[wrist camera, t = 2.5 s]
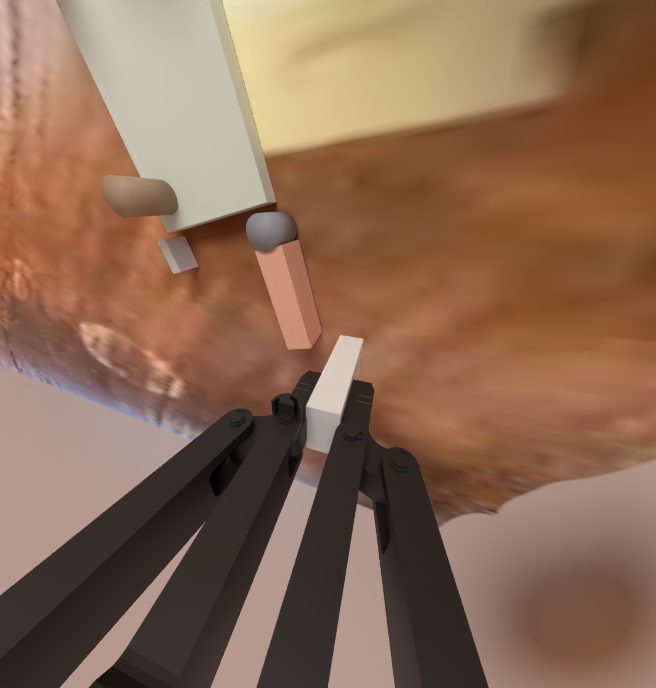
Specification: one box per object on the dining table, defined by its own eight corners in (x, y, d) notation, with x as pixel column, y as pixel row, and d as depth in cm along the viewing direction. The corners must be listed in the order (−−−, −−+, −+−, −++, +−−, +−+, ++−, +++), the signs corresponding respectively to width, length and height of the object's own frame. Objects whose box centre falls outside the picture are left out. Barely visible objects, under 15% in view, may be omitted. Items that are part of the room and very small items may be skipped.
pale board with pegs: (37, -63, 15) (-121, -177, 11) (161, -220, 11) (-6, -509, 7) (191, 268, 25) (143, 282, 20) (288, 246, 21) (255, 258, 16)
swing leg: (265, 215, 20) (240, 217, 17) (291, 208, 19) (271, 209, 16) (300, 333, 25) (286, 350, 22) (322, 331, 24) (311, 349, 21)
